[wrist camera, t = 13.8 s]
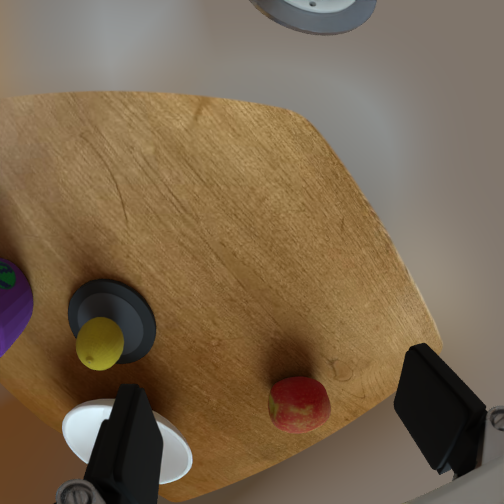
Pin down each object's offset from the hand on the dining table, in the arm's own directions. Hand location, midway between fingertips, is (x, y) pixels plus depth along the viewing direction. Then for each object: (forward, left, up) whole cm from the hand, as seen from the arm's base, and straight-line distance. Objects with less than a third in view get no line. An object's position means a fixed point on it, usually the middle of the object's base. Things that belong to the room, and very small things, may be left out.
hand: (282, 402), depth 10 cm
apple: (+22, +10, -26) cm, 36 cm away
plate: (+13, -15, -26) cm, 33 cm away
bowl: (+31, -14, -26) cm, 43 cm away
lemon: (+13, -15, -26) cm, 32 cm away
